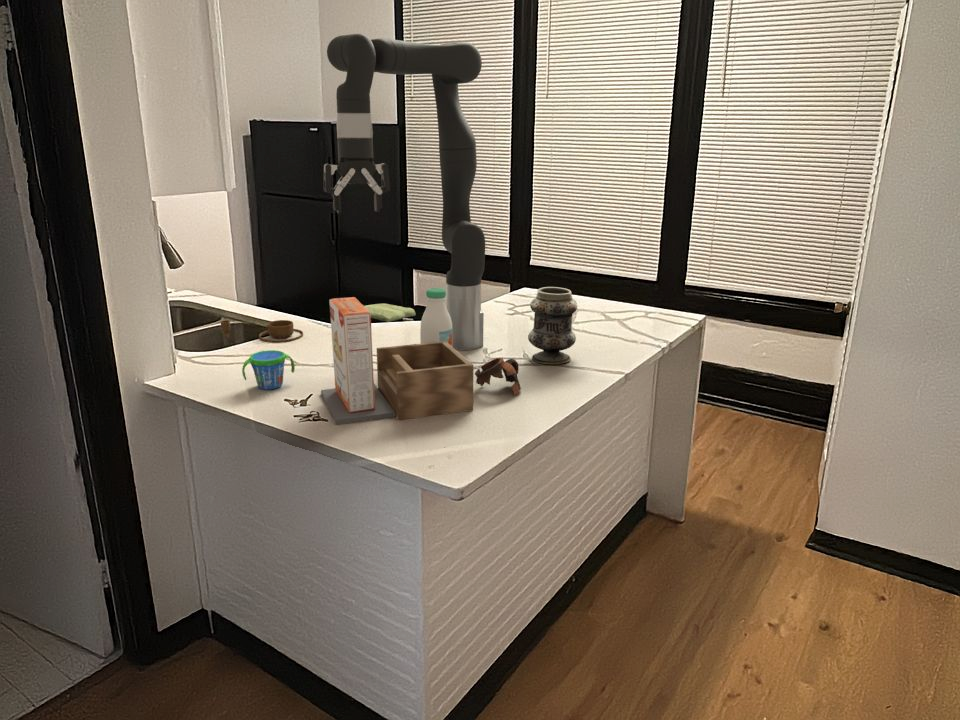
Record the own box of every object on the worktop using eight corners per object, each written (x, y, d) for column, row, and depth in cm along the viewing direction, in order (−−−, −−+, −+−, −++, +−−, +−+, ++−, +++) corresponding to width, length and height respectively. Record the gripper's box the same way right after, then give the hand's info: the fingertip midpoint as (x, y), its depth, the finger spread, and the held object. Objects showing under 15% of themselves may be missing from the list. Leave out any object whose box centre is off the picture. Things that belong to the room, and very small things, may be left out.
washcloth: (380, 309, 234) (380, 299, 233) (418, 318, 223) (418, 308, 222) (348, 316, 225) (348, 306, 224) (386, 326, 213) (386, 316, 212)
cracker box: (333, 391, 158) (328, 298, 151) (360, 387, 160) (356, 295, 153) (346, 414, 145) (341, 313, 139) (376, 410, 147) (372, 311, 141)
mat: (374, 387, 163) (374, 383, 162) (394, 416, 147) (394, 412, 146) (321, 394, 159) (320, 389, 158) (336, 424, 143) (335, 420, 142)
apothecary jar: (584, 358, 184) (588, 290, 179) (555, 369, 176) (558, 297, 170) (546, 349, 192) (549, 282, 187) (517, 358, 184) (519, 289, 178)
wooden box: (445, 382, 167) (445, 341, 163) (473, 410, 151) (473, 364, 147) (378, 390, 161) (376, 347, 158) (398, 420, 145) (397, 373, 142)
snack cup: (245, 395, 158) (242, 363, 155) (242, 384, 164) (239, 353, 162) (298, 388, 162) (296, 357, 160) (293, 378, 169) (290, 347, 166)
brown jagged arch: (513, 401, 156) (495, 369, 154) (481, 410, 161) (463, 379, 160) (536, 375, 164) (519, 344, 163) (505, 384, 170) (488, 355, 169)
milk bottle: (428, 377, 170) (427, 294, 164) (416, 367, 176) (414, 287, 170) (458, 372, 173) (458, 291, 167) (444, 363, 180) (444, 285, 173)
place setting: (281, 351, 190) (279, 330, 188) (218, 343, 196) (216, 322, 194) (316, 334, 206) (315, 314, 204) (257, 327, 212) (255, 308, 210)
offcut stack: (406, 392, 161) (405, 353, 158) (421, 411, 150) (421, 370, 147) (386, 394, 159) (385, 355, 156) (401, 414, 148) (399, 372, 146)
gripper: (383, 135, 160) (385, 209, 165) (318, 135, 156) (323, 211, 161) (391, 136, 154) (393, 213, 159) (324, 136, 149) (328, 215, 154)
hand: (358, 212), depth 160 cm, fingers open, 8 cm apart
